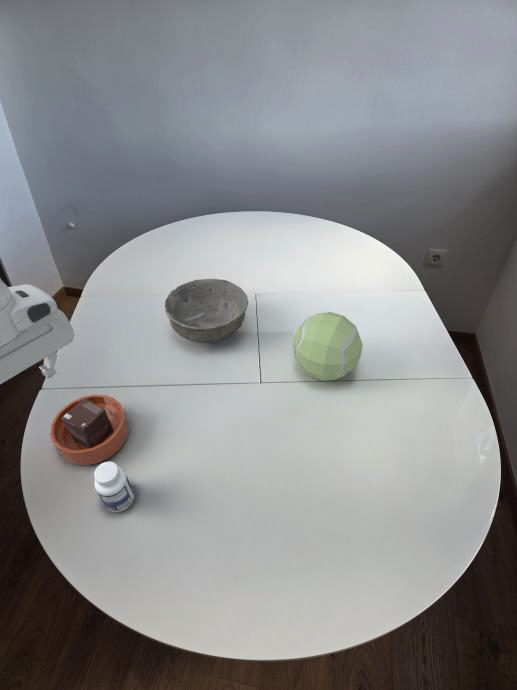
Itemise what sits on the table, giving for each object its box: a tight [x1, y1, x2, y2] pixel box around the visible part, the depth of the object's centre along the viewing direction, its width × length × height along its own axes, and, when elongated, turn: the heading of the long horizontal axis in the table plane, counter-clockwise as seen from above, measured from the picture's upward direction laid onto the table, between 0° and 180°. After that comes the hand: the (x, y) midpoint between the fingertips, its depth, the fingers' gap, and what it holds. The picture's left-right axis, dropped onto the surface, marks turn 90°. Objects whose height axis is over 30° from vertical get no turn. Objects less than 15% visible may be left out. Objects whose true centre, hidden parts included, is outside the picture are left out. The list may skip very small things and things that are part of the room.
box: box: [62, 398, 113, 448], centre depth 87 cm, size 6×6×7 cm
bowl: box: [164, 278, 249, 344], centre depth 110 cm, size 21×21×10 cm
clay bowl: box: [49, 394, 130, 466], centre depth 88 cm, size 14×14×5 cm
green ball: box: [292, 311, 364, 382], centre depth 98 cm, size 15×15×15 cm
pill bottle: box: [93, 461, 135, 513], centre depth 76 cm, size 5×5×10 cm
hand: (22, 392), depth 65 cm, fingers open, 8 cm apart
